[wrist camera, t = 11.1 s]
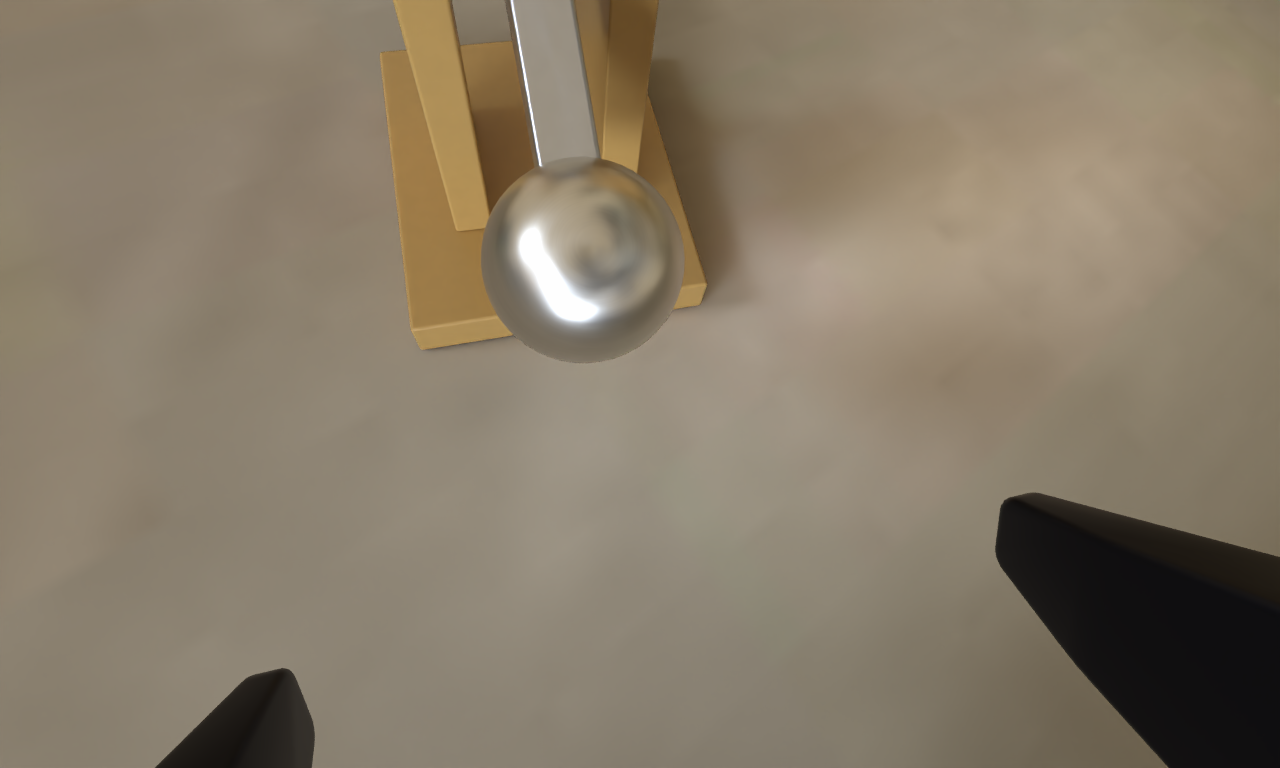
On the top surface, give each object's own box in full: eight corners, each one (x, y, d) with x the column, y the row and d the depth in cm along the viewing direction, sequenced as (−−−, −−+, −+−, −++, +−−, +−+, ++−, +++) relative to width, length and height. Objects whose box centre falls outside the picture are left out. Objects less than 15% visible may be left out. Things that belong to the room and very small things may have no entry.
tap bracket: (701, 306, 19) (863, -160, 8) (420, 351, 18) (180, -137, 7) (626, 60, 23) (671, -485, 12) (388, 82, 21) (199, -510, 11)
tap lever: (673, 346, 14) (725, 343, 10) (503, 376, 13) (497, 383, 10) (583, -205, 13) (606, -413, 10) (397, -201, 12) (349, -422, 9)
